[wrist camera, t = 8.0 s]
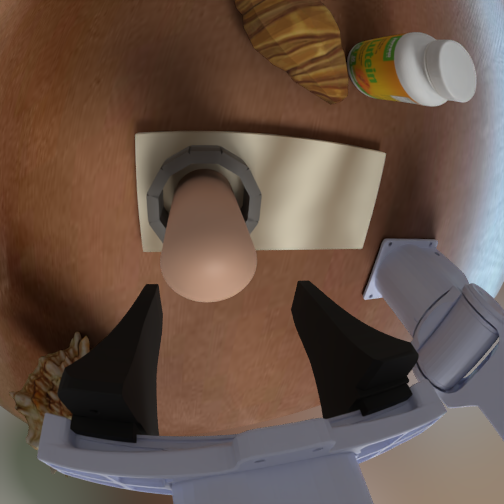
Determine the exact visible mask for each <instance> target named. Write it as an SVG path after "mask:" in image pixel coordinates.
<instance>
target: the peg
mask: <svg viewBox="0 0 504 504" xmlns="http://www.w3.org/2000/svg"><path fill="white" fill-rule="evenodd" d="M160 266H161V271H162V275H163V277H164V279H165V281H166V282H167V284H168V285H169V286H170V287H171V288H172V289H173V290H174V291H175V292H176V293H178V294H179V295H181V296H183V297H185V298H187V299H190V300H194V301H199V302H215V301H220V300H224V299H227V298H229V297H232V296H234V295H235V294H237V293H239V292H240V291H241V290H242V289H244V288H245V287H246V286H247V284H248V283H249V282H250V280H251V279H252V277H253V275H254V273H255V270H256V266H257V254H256V250H255V247H254V244H253V242H252V239H251V237H250V234H249V231H248V229H247V226H246V224H245V221H244V218H243V216H242V213H241V211H240V208H239V205H238V203H237V200H236V198H235V195H234V193H233V190H232V187H231V185H230V183H229V181H228V180H227V179H226V178H225V177H224V176H223V175H222V174H221V173H219V172H217V171H215V170H211V169H197V170H194V171H191V172H189V173H188V174H186V175H185V176H184V177H183V178H182V179H181V180H180V181H179V182H178V184H177V186H176V189H175V192H174V196H173V200H172V205H171V209H170V213H169V218H168V223H167V227H166V232H165V237H164V242H163V247H162V252H161V259H160Z"/></svg>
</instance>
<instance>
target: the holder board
mask: <svg viewBox="0 0 504 504" xmlns="http://www.w3.org/2000/svg"><path fill="white" fill-rule="evenodd" d="M135 152H136V179H137V195H138V208H139V219H140V229H141V238H142V246H143V252H162V247H163V242H164V237H165V232H166V227H167V223H168V218H169V213H170V209H171V205H172V200H173V196H174V192H175V189H176V186H177V184H178V182H179V181H180V180H181V179H182V178H183V177H184V176H185V175H186V174H188V173H189V172H191V171H194V170H197V169H211V170H215V171H217V172H219V173H221V174H222V175H223V176H224V177H225V178H226V179H227V180H228V181H229V183H230V185H231V187H232V190H233V193H234V195H235V198H236V200H237V203H238V205H239V208H240V211H241V213H242V216H243V218H244V221H245V224H246V226H247V229H248V231H249V234H250V237H251V239H252V242H253V244H254V247H255V250H299V249H362V248H363V244H364V241H365V238H366V234H367V231H368V227H369V224H370V220H371V216H372V213H373V209H374V205H375V201H376V197H377V193H378V189H379V184H380V180H381V176H382V171H383V166H384V161H385V157H386V153H384V152H381V151H378V150H373V149H368V148H363V147H358V146H353V145H348V144H342V143H336V142H330V141H324V140H317V139H310V138H302V137H294V136H285V135H275V134H263V133H249V132H229V131H162V132H143V133H137V134H135Z"/></svg>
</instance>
